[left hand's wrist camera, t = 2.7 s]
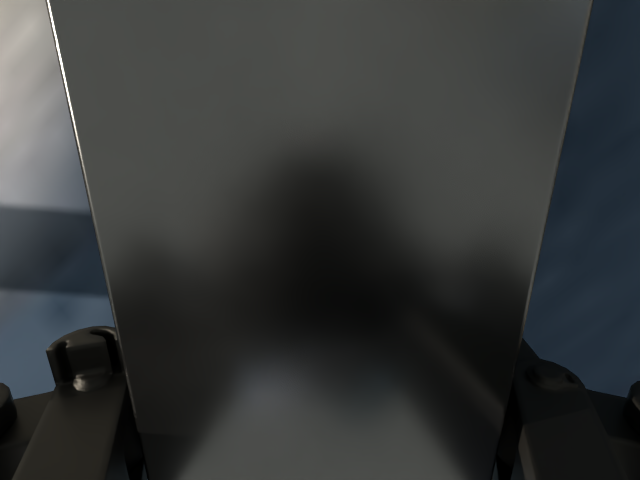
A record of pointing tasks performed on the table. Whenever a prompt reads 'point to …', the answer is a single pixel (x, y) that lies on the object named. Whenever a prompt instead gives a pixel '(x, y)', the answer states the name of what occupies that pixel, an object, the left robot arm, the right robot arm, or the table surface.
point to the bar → (319, 221)
